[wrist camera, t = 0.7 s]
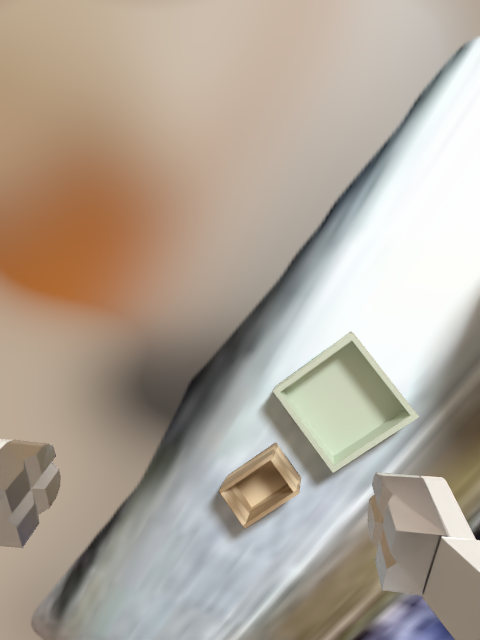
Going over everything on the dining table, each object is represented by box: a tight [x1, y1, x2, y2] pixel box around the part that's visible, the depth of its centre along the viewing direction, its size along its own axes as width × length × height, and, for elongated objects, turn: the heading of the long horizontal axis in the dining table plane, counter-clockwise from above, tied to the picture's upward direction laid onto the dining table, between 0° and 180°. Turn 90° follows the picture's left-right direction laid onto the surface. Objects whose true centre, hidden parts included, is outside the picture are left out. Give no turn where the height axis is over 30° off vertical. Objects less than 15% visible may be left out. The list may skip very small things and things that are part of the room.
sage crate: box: [273, 332, 419, 473], centre depth 51 cm, size 13×13×4 cm
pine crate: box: [219, 443, 301, 528], centre depth 53 cm, size 6×9×5 cm, turn 127°
